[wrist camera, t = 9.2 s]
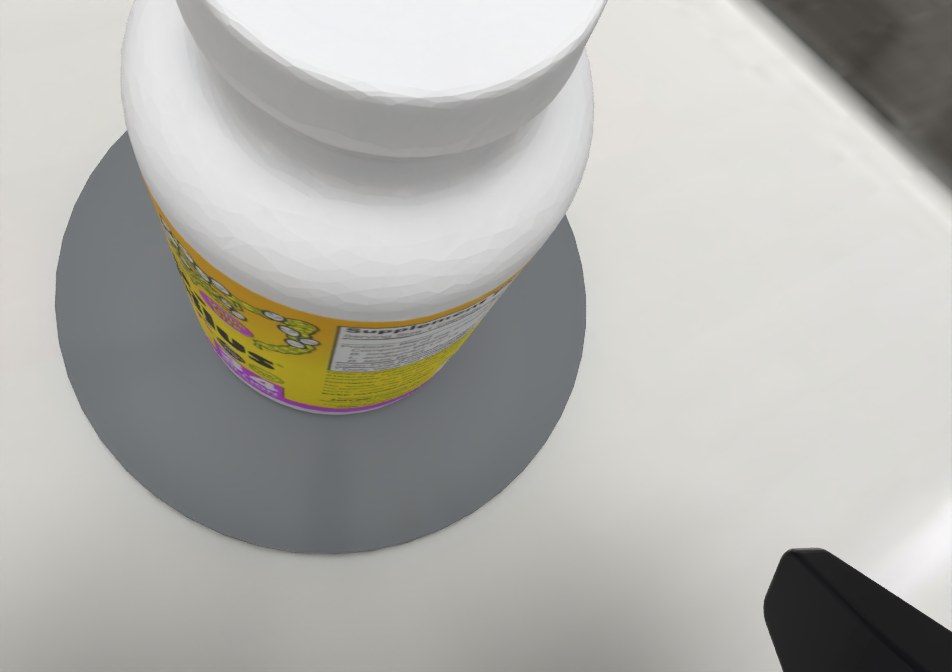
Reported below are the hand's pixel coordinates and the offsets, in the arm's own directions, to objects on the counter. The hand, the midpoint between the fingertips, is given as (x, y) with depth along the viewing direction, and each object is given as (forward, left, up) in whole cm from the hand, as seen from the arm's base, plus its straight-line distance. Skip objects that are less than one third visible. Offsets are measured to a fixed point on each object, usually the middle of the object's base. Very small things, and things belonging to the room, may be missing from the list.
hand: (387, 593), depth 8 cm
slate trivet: (+5, -5, -11) cm, 13 cm away
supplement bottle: (+5, -5, -11) cm, 13 cm away
